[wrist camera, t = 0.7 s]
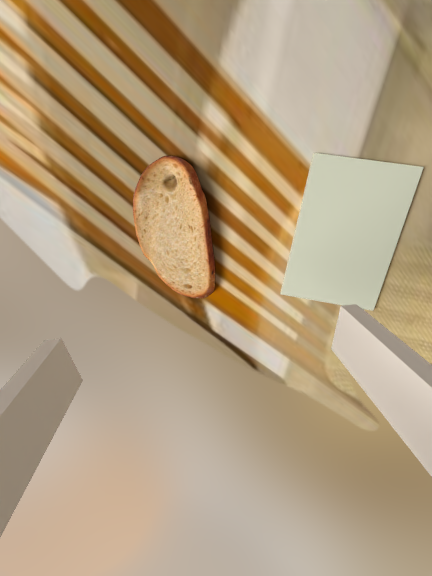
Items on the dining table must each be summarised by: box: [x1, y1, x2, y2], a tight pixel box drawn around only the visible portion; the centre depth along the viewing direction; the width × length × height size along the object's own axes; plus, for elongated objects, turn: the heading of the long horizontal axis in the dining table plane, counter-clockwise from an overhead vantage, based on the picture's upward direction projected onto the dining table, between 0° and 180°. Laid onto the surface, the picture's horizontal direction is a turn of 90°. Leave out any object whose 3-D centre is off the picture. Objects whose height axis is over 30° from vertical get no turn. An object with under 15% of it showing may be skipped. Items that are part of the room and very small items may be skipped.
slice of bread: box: [133, 156, 215, 298], centre depth 34 cm, size 18×18×4 cm
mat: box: [280, 153, 424, 311], centre depth 32 cm, size 20×14×1 cm
